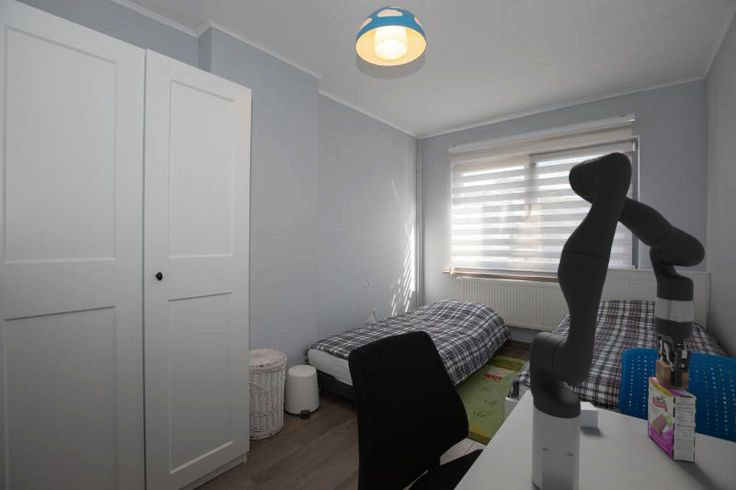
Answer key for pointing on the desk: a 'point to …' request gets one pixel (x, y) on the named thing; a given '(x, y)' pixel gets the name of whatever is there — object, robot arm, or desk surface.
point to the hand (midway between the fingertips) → (671, 381)
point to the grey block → (588, 415)
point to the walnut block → (668, 374)
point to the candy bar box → (672, 420)
